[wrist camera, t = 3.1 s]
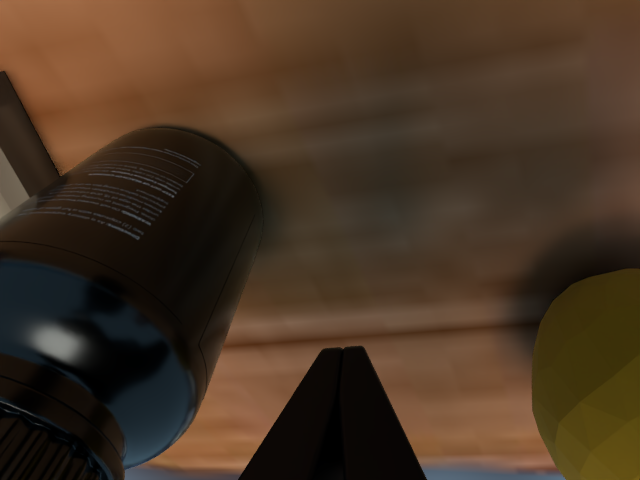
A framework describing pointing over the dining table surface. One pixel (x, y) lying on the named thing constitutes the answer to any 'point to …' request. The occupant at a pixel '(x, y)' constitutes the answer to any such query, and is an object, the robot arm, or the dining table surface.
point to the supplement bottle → (119, 303)
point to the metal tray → (19, 153)
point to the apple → (591, 378)
